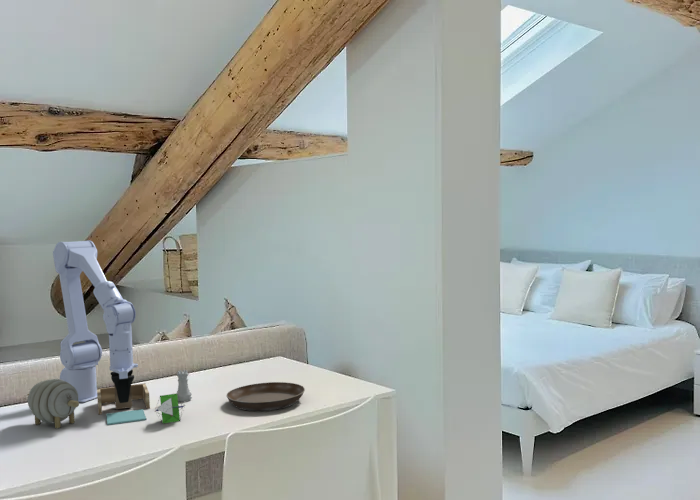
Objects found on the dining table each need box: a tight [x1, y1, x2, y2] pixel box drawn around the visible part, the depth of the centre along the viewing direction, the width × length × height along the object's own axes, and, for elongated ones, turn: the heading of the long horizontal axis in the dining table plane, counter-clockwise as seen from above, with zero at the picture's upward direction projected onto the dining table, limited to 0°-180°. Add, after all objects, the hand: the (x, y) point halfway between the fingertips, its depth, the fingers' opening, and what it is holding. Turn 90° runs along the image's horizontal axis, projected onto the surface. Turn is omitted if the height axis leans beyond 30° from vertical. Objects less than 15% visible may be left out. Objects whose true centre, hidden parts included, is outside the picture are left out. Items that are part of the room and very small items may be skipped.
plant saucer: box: [226, 381, 306, 412], centre depth 180 cm, size 21×21×3 cm
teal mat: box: [105, 408, 147, 426], centre depth 169 cm, size 9×9×1 cm
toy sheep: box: [26, 378, 80, 429], centre depth 165 cm, size 11×17×11 cm, turn 65°
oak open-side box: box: [96, 383, 151, 416], centre depth 180 cm, size 12×13×4 cm
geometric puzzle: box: [154, 393, 186, 425], centre depth 165 cm, size 7×7×8 cm
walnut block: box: [113, 383, 133, 410], centre depth 178 cm, size 4×4×6 cm
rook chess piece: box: [175, 369, 193, 403], centre depth 184 cm, size 4×4×8 cm
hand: (123, 400), depth 178 cm, fingers closed on walnut block, 4 cm apart
